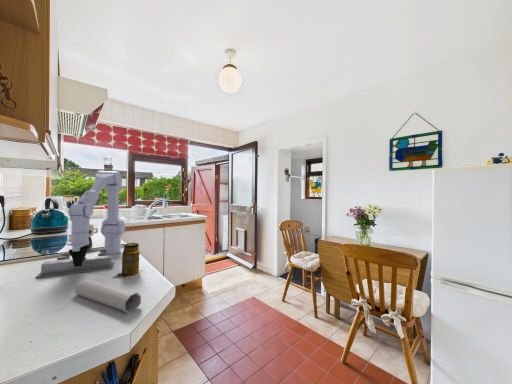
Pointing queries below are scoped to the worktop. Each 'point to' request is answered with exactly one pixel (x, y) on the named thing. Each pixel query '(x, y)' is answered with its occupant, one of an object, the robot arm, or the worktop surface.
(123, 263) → the condiment
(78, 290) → the tube
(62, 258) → the rail stand
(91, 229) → the character mug
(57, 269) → the rail
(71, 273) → the mat
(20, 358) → the worktop surface
